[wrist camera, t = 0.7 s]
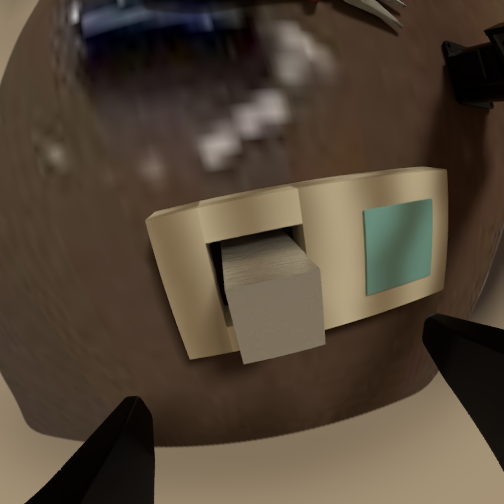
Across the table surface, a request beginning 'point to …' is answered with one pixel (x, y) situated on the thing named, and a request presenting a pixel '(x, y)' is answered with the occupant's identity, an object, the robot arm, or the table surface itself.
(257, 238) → the steel block
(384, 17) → the pliers
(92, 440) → the robot arm
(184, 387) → the table surface
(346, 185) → the beige slotted block
